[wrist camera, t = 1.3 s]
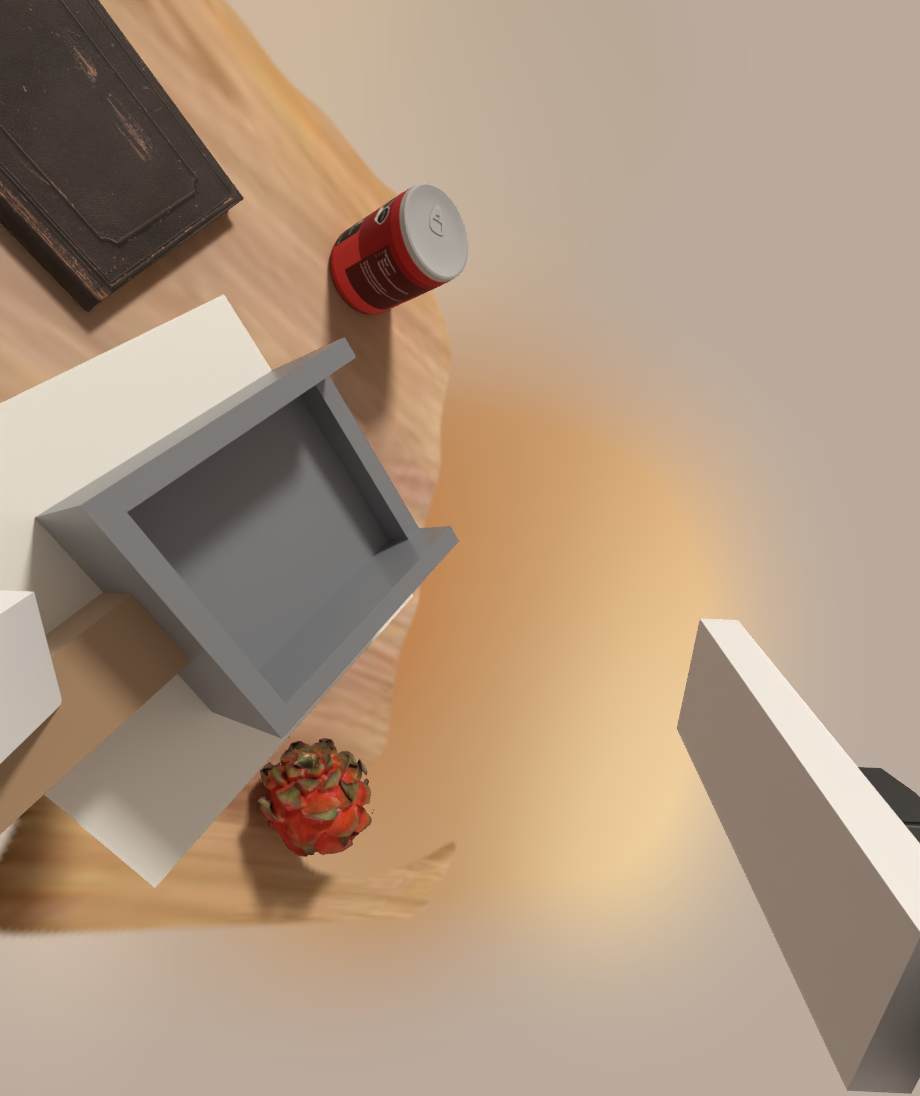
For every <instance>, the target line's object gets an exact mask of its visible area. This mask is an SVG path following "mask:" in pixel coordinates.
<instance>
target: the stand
mask: <svg viewBox="0 0 920 1096" xmlns="http://www.w3.org/2000/svg"><path fill="white" fill-rule="evenodd" d="M270 371H272V370H271V369H270V367H269V365H268V364H267V362H266V361H265V359H264V357H263V356H262V354H261V353H260V351H259V349H258V348H257V346H256V345H255V343H254V341H253V340H252V338H251V337H250V335H249V333H248V332H247V330H246V329H245V327H244V325H243V324H242V322H241V321H240V319H239V318H238V316H237V314H236V313H235V311H234V310H233V308H232V306H231V305H230V303H229V302H228V300H227V298H226V297H225V295H222V296H220V297H218V298H216V299H213V300H211V301H209V302H207V303H205V304H203V305H201V306H199V307H197V308H195V309H193V310H191V311H189V312H187V313H185V314H183V315H181V316H179V317H177V318H175V319H172V320H170V321H168V322H166V323H164V324H162V325H160V326H158V327H156V328H154V329H152V330H150V331H148V332H146V333H144V334H142V335H140V336H138V337H136V338H134V339H131V340H129V341H127V342H125V343H123V344H121V345H119V346H117V347H115V348H113V349H111V350H109V351H107V352H105V353H103V354H101V355H99V356H97V357H95V358H93V359H90V360H88V361H86V362H84V363H82V364H80V365H78V366H76V367H74V368H72V369H70V370H68V371H66V372H64V373H62V374H60V375H58V376H56V377H54V378H52V379H49V380H47V381H45V382H43V383H41V384H39V385H37V386H35V387H33V388H31V389H29V390H27V391H25V392H23V393H21V394H19V395H17V396H15V397H13V398H11V399H9V400H6V401H4V402H2V403H0V590H6V591H29V592H34V594H35V598H36V601H37V605H38V609H39V613H40V617H41V621H42V625H43V628H44V632H45V635H47V634H48V633H50V632H51V631H52V630H54V629H55V628H56V627H58V626H59V625H60V624H62V623H63V622H64V621H66V620H67V619H68V618H70V617H71V616H72V615H74V614H75V613H76V612H78V611H79V610H80V609H82V608H83V607H84V606H86V605H87V604H88V603H90V602H91V601H92V600H94V599H95V598H96V597H98V596H99V595H100V594H102V593H103V592H102V591H101V589H100V588H99V587H98V586H97V585H96V584H95V583H94V582H93V581H92V580H91V578H90V577H89V576H88V575H87V574H86V573H85V572H84V571H83V570H82V569H81V568H80V566H79V565H78V564H77V563H76V562H75V561H74V560H73V559H72V558H71V557H70V555H69V554H68V553H67V552H66V551H65V550H64V549H63V548H62V547H61V546H60V544H59V543H58V542H57V541H56V540H55V539H54V538H53V537H52V536H51V535H50V534H49V532H48V531H47V530H46V529H45V528H44V527H43V526H42V525H41V524H40V523H39V521H38V520H37V519H36V518H35V517H36V516H38V515H39V514H41V513H42V512H44V511H46V510H47V509H49V508H50V507H52V506H54V505H55V504H57V503H59V502H60V501H62V500H63V499H65V498H67V497H68V496H70V495H71V494H73V493H75V492H76V491H78V490H80V489H81V488H83V487H84V486H86V485H88V484H89V483H91V482H92V481H94V480H96V479H97V478H99V477H101V476H102V475H104V474H105V473H107V472H109V471H110V470H112V469H114V468H115V467H117V466H118V465H120V464H122V463H123V462H125V461H126V460H128V459H130V458H131V457H133V456H134V455H136V454H138V453H139V452H141V451H143V450H144V449H146V448H147V447H149V446H151V445H152V444H154V443H155V442H157V441H159V440H160V439H162V438H164V437H165V436H167V435H168V434H170V433H172V432H173V431H175V430H177V429H178V428H180V427H181V426H183V425H185V424H186V423H188V422H189V421H191V420H193V419H194V418H196V417H198V416H199V415H201V414H202V413H204V412H206V411H207V410H209V409H210V408H212V407H214V406H215V405H217V404H219V403H220V402H222V401H223V400H225V399H227V398H228V397H230V396H231V395H233V394H235V393H236V392H238V391H240V390H241V389H243V388H244V387H246V386H248V385H249V384H251V383H252V382H254V381H256V380H257V379H259V378H261V377H262V376H264V375H265V374H267V373H269V372H270ZM412 597H413V595H412V594H411V595H410V596H409V598H408V599H407V600H406V601H405V602H404V603H403V604H402V605H401V606H400V608H399V609H398V610H397V611H396V612H395V613H394V614H393V615H392V617H391V618H390V619H389V620H388V621H387V622H386V623H385V624H384V625H383V627H382V628H381V629H380V630H379V631H378V632H377V633H376V634H375V636H374V637H373V638H372V639H371V640H370V641H369V642H368V643H367V644H366V646H365V647H364V648H363V649H362V650H361V651H360V652H359V653H358V655H357V656H356V657H355V658H354V659H353V660H352V661H351V662H350V663H349V665H348V666H347V667H346V668H345V669H344V670H343V671H342V672H341V674H340V675H339V676H338V677H337V678H336V679H335V680H334V681H333V682H332V684H331V685H330V686H329V687H328V688H327V689H326V690H325V691H324V693H323V694H322V695H321V696H320V697H319V698H318V699H317V700H316V701H315V703H314V704H313V705H312V706H311V707H310V708H309V709H308V710H307V712H306V713H305V714H304V715H303V716H302V717H301V718H300V719H299V721H298V722H297V723H296V724H295V725H294V726H293V727H292V728H291V729H290V731H289V732H288V733H287V734H286V735H285V736H284V737H283V738H282V739H281V738H279V737H276V736H273V735H271V734H268V733H266V732H263V731H260V730H258V729H255V728H252V727H250V726H247V725H245V724H242V723H239V722H237V721H234V720H232V719H229V718H226V717H224V716H221V715H218V714H216V713H213V712H212V711H211V710H210V709H209V708H208V707H207V706H206V705H205V704H204V702H203V701H202V700H201V699H200V698H199V697H198V696H197V695H196V694H195V693H194V691H193V690H192V689H191V688H190V687H189V686H188V685H187V684H186V683H185V682H184V681H183V679H182V678H181V677H180V676H179V675H178V674H177V675H175V676H174V677H173V678H172V679H171V680H170V681H169V682H168V683H167V684H165V685H164V686H163V687H162V688H161V689H160V690H159V691H158V692H157V693H156V694H154V695H153V696H152V697H151V698H150V699H149V700H148V701H147V702H146V703H144V704H143V705H142V706H141V707H140V708H139V709H138V710H137V711H136V712H135V713H133V714H132V715H131V716H130V717H129V718H128V719H127V720H126V721H125V722H123V723H122V724H121V725H120V726H119V727H118V728H117V729H116V730H115V731H114V732H112V733H111V734H110V735H109V736H108V737H107V738H106V739H105V740H104V741H103V742H101V743H100V744H99V745H98V746H97V747H96V748H95V749H94V750H93V751H91V752H90V753H89V754H88V755H87V756H86V757H85V758H84V759H83V760H82V761H80V762H79V763H78V764H77V765H76V766H75V767H74V768H73V769H72V770H70V771H69V772H68V773H67V774H66V775H65V776H64V777H63V778H62V779H61V780H59V781H58V782H57V783H56V784H55V785H54V786H53V787H52V788H51V789H49V790H48V791H47V792H46V793H45V794H44V795H45V796H46V797H47V798H49V799H50V800H51V801H52V802H53V803H55V804H56V805H57V806H58V807H59V808H61V809H62V810H63V811H64V812H65V813H66V814H68V815H69V816H70V817H71V818H72V819H74V820H75V821H76V822H77V823H78V824H80V825H81V826H82V827H83V828H84V829H86V830H87V831H88V832H89V833H90V834H91V835H93V836H94V837H95V838H96V839H97V840H99V841H100V842H101V843H102V844H103V845H105V846H106V847H107V848H108V849H109V850H110V851H112V852H113V853H114V854H115V855H116V856H118V857H119V858H120V859H121V860H122V861H124V862H125V863H126V864H127V865H128V866H130V867H131V868H132V869H133V870H134V871H135V872H137V873H138V874H139V875H140V876H141V877H143V878H144V879H145V880H146V881H147V882H149V883H150V884H151V885H152V886H153V887H156V886H157V885H158V884H159V883H160V881H161V880H162V879H163V878H164V877H165V876H166V875H167V874H168V872H169V871H170V870H171V869H172V868H173V867H174V866H175V865H176V863H177V862H178V861H179V860H180V859H181V858H182V857H183V855H184V854H185V853H186V852H187V851H188V850H189V849H190V848H191V846H192V845H193V844H194V843H195V842H196V841H197V840H198V839H199V837H200V836H201V835H202V834H203V833H204V832H205V831H206V829H207V828H208V827H209V826H210V825H211V824H212V823H213V822H214V820H215V819H216V818H217V817H218V816H219V815H220V814H221V813H222V811H223V810H224V809H225V808H226V807H227V806H228V805H229V804H230V802H231V801H232V800H233V799H234V798H235V797H236V796H237V794H238V793H239V792H240V791H241V790H242V789H243V788H244V787H245V785H246V784H247V783H248V782H249V781H250V780H251V779H252V778H253V776H254V775H255V774H256V773H257V772H258V771H259V770H260V768H261V767H262V766H263V765H264V764H265V763H266V762H267V761H268V759H269V758H270V757H271V756H272V755H273V754H274V753H275V752H276V750H277V749H278V748H279V747H280V746H281V745H282V744H283V742H284V741H285V740H286V739H287V738H288V737H289V736H290V735H291V733H292V732H293V731H294V730H295V729H296V728H297V727H298V726H299V724H300V723H301V722H302V721H303V720H304V719H305V718H306V717H307V715H308V714H309V713H310V712H311V711H312V710H313V709H314V707H315V706H316V705H317V704H318V703H319V702H320V701H321V700H322V698H323V697H324V696H325V695H326V694H327V693H328V692H329V691H330V689H331V688H332V687H333V686H334V685H335V684H336V683H337V681H338V680H339V679H340V678H341V677H342V676H343V675H344V674H345V672H346V671H347V670H348V669H349V668H350V667H351V666H352V665H353V663H354V662H355V661H356V660H357V659H358V658H359V657H360V655H361V654H362V653H363V652H364V651H365V650H366V649H367V648H368V646H369V645H370V644H371V643H372V642H373V641H374V640H375V639H376V637H377V636H378V635H379V634H380V633H381V632H382V631H383V629H384V628H385V627H386V626H387V625H388V624H389V623H390V622H391V620H392V619H393V618H394V617H395V616H396V615H397V614H398V613H399V611H400V610H401V609H402V608H403V607H404V606H405V605H406V604H407V602H408V601H409V600H410V599H411V598H412Z"/></svg>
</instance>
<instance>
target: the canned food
mask: <svg viewBox="0 0 920 1096" xmlns="http://www.w3.org/2000/svg"><path fill="white" fill-rule="evenodd" d="M467 254H468V241H467V234H466V230H465V226H464V224H463V220H462V218H461V215H460V213H459V211H458V209H457V207H456V206H455V204H454V203H453V201H452V200H451V199H450V197H449V196H448V195H447V194H446V193H445V192H444V191H443V190H441V189H440V188H439V187H437V186H435V185H433V184H430V183H420V184H418V185H415V186H413V187H411V188H409V189H408V190H406V191H405V192H403V193H401V194H400V195H398V196H397V197H395V198H394V199H392V200H391V201H389V202H388V203H386V204H385V205H383V206H382V207H380V208H379V209H377V210H376V211H374V212H373V213H372V214H370V215H369V216H367V217H366V218H364V219H363V220H361V221H360V222H358V223H357V224H355V225H354V226H352V227H351V228H349V229H348V230H346V231H345V232H344V233H342V234H341V235H340V236H339V238H338V239H337V241H336V243H335V244H334V246H333V249H332V252H331V258H330V267H331V273H332V277H333V280H334V283H335V285H336V287H337V290H338V291H339V293H340V295H341V296H342V298H343V299H344V300H345V301H346V302H347V303H348V304H349V305H350V306H351V307H352V308H354V309H355V310H357V311H359V312H362V313H365V314H379V313H382V312H385V311H387V310H389V309H391V308H393V307H395V306H398V305H400V304H402V303H404V302H406V301H408V300H411V299H413V298H415V297H417V296H419V295H421V294H424V293H426V292H428V291H430V290H432V289H434V288H437V287H439V286H441V285H443V284H445V283H447V282H449V281H451V280H452V279H454V278H455V277H457V276H458V275H459V274H460V273H461V272H462V271H463V269H464V267H465V264H466V261H467Z"/></svg>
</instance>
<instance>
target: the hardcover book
mask: <svg viewBox="0 0 920 1096" xmlns="http://www.w3.org/2000/svg"><path fill="white" fill-rule="evenodd" d="M243 199H244V198H243V197H242V195H241V194H240V193H239V191H238V190H237V189H236V187H235V186H234V184H233V183H232V182H231V180H230V179H229V178H228V176H227V175H226V174H225V172H224V171H223V169H222V168H221V167H220V165H219V164H218V163H217V161H216V160H215V159H214V157H213V156H212V154H211V153H210V152H209V150H208V149H207V148H206V146H205V145H204V144H203V142H202V141H201V139H200V138H199V137H198V135H197V134H196V133H195V131H194V130H193V129H192V127H191V126H190V124H189V123H188V122H187V120H186V119H185V118H184V116H183V115H182V114H181V112H180V111H179V109H178V108H177V107H176V105H175V104H174V103H173V101H172V100H171V98H170V97H169V96H168V94H167V93H166V92H165V90H164V89H163V88H162V86H161V85H160V83H159V82H158V81H157V79H156V78H155V77H154V75H153V74H152V73H151V71H150V70H149V68H148V67H147V66H146V64H145V63H144V62H143V60H142V59H141V58H140V56H139V55H138V53H137V52H136V51H135V49H134V48H133V47H132V45H131V44H130V43H129V41H128V40H127V38H126V37H125V36H124V34H123V33H122V32H121V30H120V29H119V27H118V26H117V25H116V23H115V22H114V21H113V19H112V18H111V17H110V15H109V14H108V12H107V11H106V10H105V8H104V7H103V6H102V4H101V3H100V2H99V0H0V222H1V223H2V224H3V225H4V226H5V227H6V228H7V229H8V230H9V231H10V232H11V233H12V234H13V235H14V236H15V238H16V239H17V240H18V241H19V242H20V243H21V244H22V245H23V246H24V247H25V248H26V249H27V250H28V251H29V252H30V253H31V254H32V255H33V256H34V257H35V258H36V259H37V260H38V261H39V262H40V263H41V264H42V265H43V267H44V268H45V269H46V270H47V271H48V272H49V273H50V274H51V275H52V276H53V277H54V278H55V279H56V280H57V281H58V282H59V283H60V284H61V285H62V286H63V287H64V288H65V289H66V290H67V291H68V292H69V293H70V294H71V296H72V297H73V298H74V299H75V300H76V301H77V302H78V303H79V304H80V305H81V306H82V307H83V308H84V309H85V310H86V311H88V312H89V311H90V310H91V309H92V308H93V307H94V306H95V305H96V304H98V303H99V302H100V301H102V300H103V299H105V298H106V297H107V296H109V295H110V294H112V293H113V292H114V291H116V290H117V289H119V288H120V287H121V286H123V285H124V284H126V283H127V282H128V281H130V280H131V279H133V278H134V277H135V276H137V275H138V274H140V273H141V272H142V271H144V270H145V269H147V268H148V267H149V266H151V265H152V264H154V263H155V262H156V261H158V260H159V259H161V258H162V257H163V256H165V255H166V254H167V253H169V252H170V251H172V250H173V249H174V248H176V247H177V246H179V245H180V244H181V243H183V242H184V241H186V240H187V239H188V238H190V237H191V236H193V235H194V234H195V233H197V232H198V231H200V230H201V229H202V228H204V227H205V226H207V225H208V224H209V223H211V222H212V221H214V220H215V219H216V218H218V217H219V216H221V215H222V214H223V213H225V212H226V211H228V210H229V209H230V208H232V207H233V206H235V205H236V204H237V203H239V202H240V201H241V200H243Z"/></svg>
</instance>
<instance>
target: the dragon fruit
mask: <svg viewBox="0 0 920 1096" xmlns="http://www.w3.org/2000/svg"><path fill="white" fill-rule="evenodd" d="M281 764H282V765H280V762H279V763H278V764H277V765H272V764H271V763H270V762H269V763H268V764H267V765H265V766H264V768H263V769H262V770H261V771H260V772H261V778H262V782H263V785H264V786H265V788H266V789H267V790H269V792H270V793H269V795H268V796H267V797H266V798H265V796H263V795H261V796H260V798H259V799H258V801H257V804H258V810H259V811H260V812H261V813H262V814H263V815H265V816H266V818H267V819H268V825H269V826H270V827H273V828H275V829H276V830H277V831H278V832H279V833H280V835H281V837H282V839H283V841H284V843H285V844H286V846H287V847H288V848H289V849H290V850H291V851H293V852H294V853H295V854H297V855H299V856H305V857H306V856H308V855H314V852H319V853H320V854H323V855H324V854H332V853H338V852H342V851H344V850H346V849H347V848H348V847H350V846H351V845H353V843H352V840H353V839H354V837H355V836H356V835H358V834H359V832H361V831H363V830H364V829H366V827H367V826H369V825H370V824H371V817H370V816H369V815H368V814H367V813H366V810H365V809H364V808H363V805H365V804H369V803H370V796H371V790H370V788H369V786H368V783H369V780H368V779H365V781H364V783H363V782H361V781H360V779H361V777H362V771H363V772H364V773H365V775H367V770H366V767H365V765H364V764H363V763H362V761H361V760H360V759H359V761H358V762H356V760H355V758H354V756H353V754H351V753H350V752H348V751H345V752H343V751H342V752H340V753H337V750H336V747H335V746H334V742H333V741H332V740H331V739H327V738H323V739H320V740H319V743H315V744H313V745H312V746H310V745H308V744H305V743H303V742H302V741H298V742H294V743H291V744H290V747H289V749H288V750H286V751H285V752H284V753H283V754H282V756H281Z"/></svg>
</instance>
